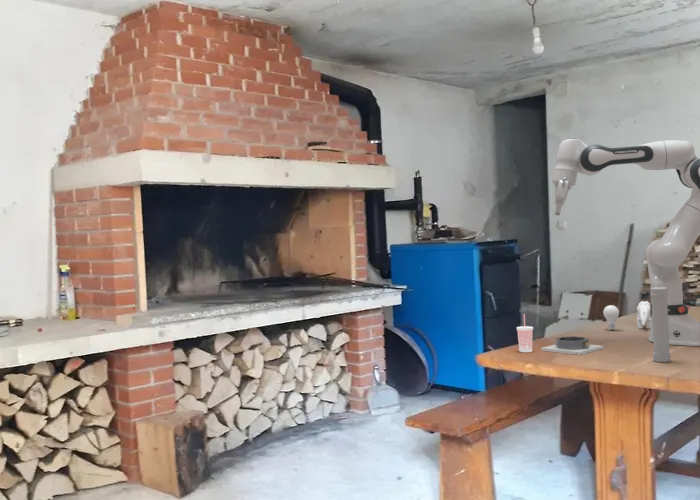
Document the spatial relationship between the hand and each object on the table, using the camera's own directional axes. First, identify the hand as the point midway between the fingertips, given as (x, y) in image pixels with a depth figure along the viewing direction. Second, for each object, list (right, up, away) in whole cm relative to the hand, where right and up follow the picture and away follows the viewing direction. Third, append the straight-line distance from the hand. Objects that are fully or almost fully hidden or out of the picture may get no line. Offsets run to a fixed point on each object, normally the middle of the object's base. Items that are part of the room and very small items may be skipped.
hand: (557, 213), depth 266 cm
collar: (+1, -51, -13) cm, 53 cm away
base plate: (+1, -51, -13) cm, 53 cm away
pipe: (+22, -51, -41) cm, 69 cm away
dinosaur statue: (+46, -48, +28) cm, 73 cm away
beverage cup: (-15, -52, -11) cm, 56 cm away
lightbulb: (+31, -49, +26) cm, 64 cm away
